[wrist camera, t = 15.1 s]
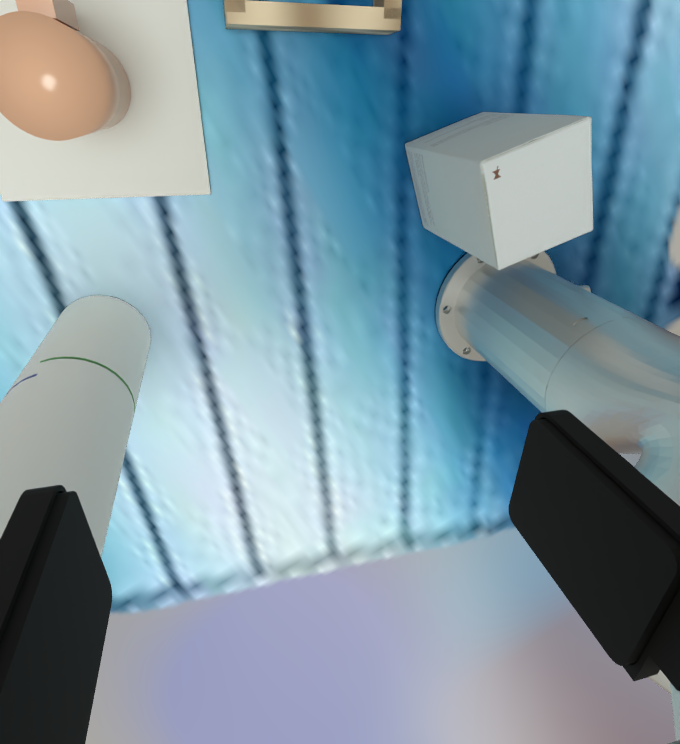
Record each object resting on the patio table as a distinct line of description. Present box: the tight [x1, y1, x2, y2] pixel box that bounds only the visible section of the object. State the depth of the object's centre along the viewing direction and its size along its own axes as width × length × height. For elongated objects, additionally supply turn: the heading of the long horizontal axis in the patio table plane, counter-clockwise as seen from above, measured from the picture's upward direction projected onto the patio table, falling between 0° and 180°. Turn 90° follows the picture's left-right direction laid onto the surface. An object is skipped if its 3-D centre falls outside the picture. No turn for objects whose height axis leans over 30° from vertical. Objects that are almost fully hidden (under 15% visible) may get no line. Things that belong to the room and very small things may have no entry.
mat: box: [0, 0, 211, 201], centre depth 31 cm, size 14×14×1 cm
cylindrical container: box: [0, 295, 151, 557], centre depth 29 cm, size 7×7×25 cm
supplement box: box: [405, 112, 593, 270], centre depth 34 cm, size 7×7×13 cm
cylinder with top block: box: [0, 0, 131, 141], centre depth 26 cm, size 5×6×10 cm
